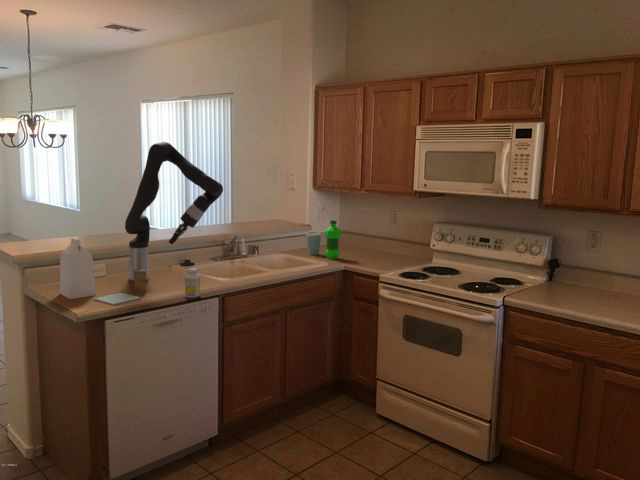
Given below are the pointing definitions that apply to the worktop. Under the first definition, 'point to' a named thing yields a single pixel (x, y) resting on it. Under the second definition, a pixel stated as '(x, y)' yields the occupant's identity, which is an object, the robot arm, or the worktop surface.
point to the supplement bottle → (192, 283)
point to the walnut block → (140, 280)
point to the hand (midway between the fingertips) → (171, 242)
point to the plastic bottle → (332, 240)
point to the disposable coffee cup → (313, 242)
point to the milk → (76, 271)
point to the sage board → (117, 298)
